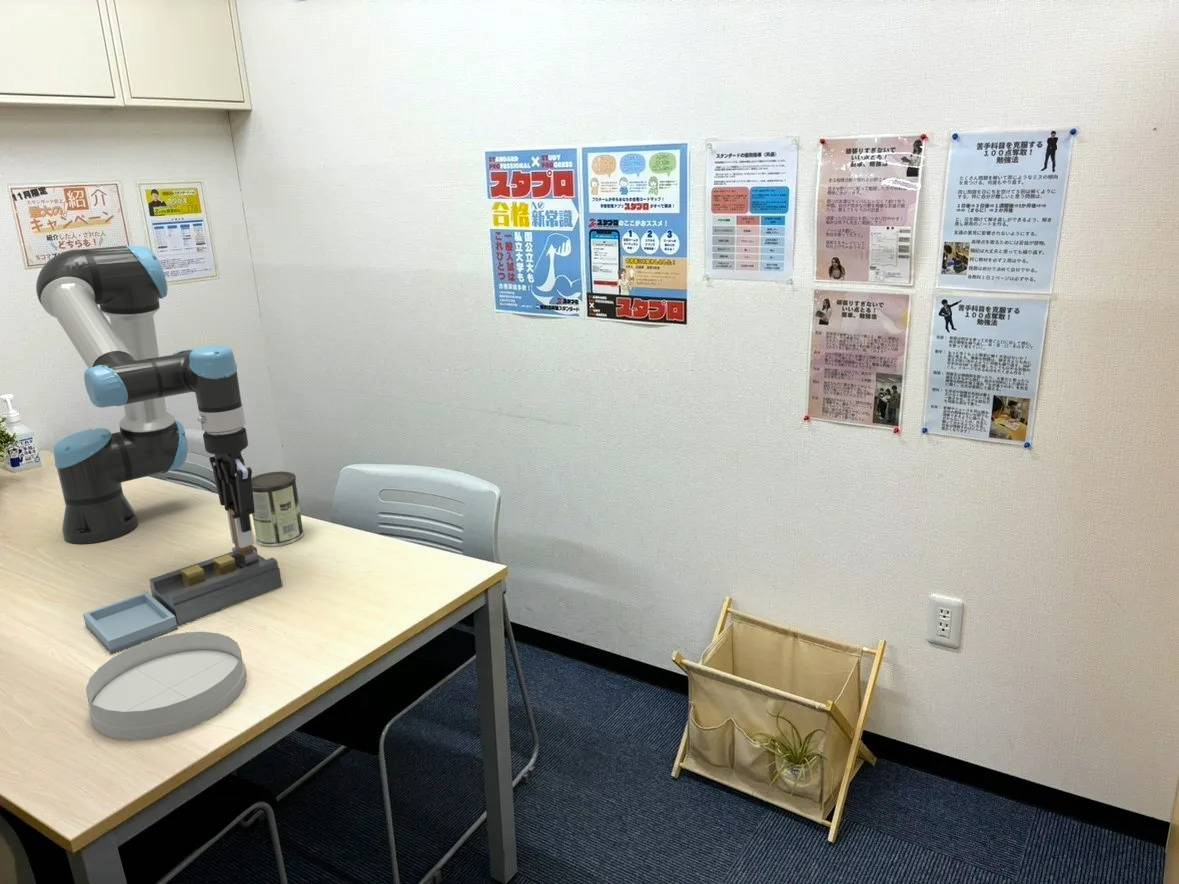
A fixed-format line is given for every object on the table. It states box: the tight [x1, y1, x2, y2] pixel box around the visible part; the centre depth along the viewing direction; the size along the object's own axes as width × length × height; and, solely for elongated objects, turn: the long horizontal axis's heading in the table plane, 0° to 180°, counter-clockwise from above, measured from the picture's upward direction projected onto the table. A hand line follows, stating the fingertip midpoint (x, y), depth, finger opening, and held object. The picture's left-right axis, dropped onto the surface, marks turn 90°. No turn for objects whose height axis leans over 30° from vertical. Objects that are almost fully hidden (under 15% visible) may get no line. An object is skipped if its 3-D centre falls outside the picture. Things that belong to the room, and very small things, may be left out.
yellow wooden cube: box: [181, 565, 206, 587], centre depth 155 cm, size 3×3×3 cm
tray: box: [82, 592, 178, 655], centre depth 148 cm, size 14×11×2 cm
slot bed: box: [149, 544, 283, 627], centre depth 159 cm, size 12×20×6 cm, turn 136°
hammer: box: [229, 507, 259, 568], centre depth 161 cm, size 6×2×12 cm, turn 47°
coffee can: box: [251, 471, 305, 547], centre depth 183 cm, size 10×10×14 cm
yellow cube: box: [213, 555, 237, 576], centre depth 159 cm, size 3×3×3 cm
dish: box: [85, 631, 247, 741], centre depth 128 cm, size 22×22×5 cm
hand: (243, 542), depth 161 cm, fingers closed on hammer, 2 cm apart
